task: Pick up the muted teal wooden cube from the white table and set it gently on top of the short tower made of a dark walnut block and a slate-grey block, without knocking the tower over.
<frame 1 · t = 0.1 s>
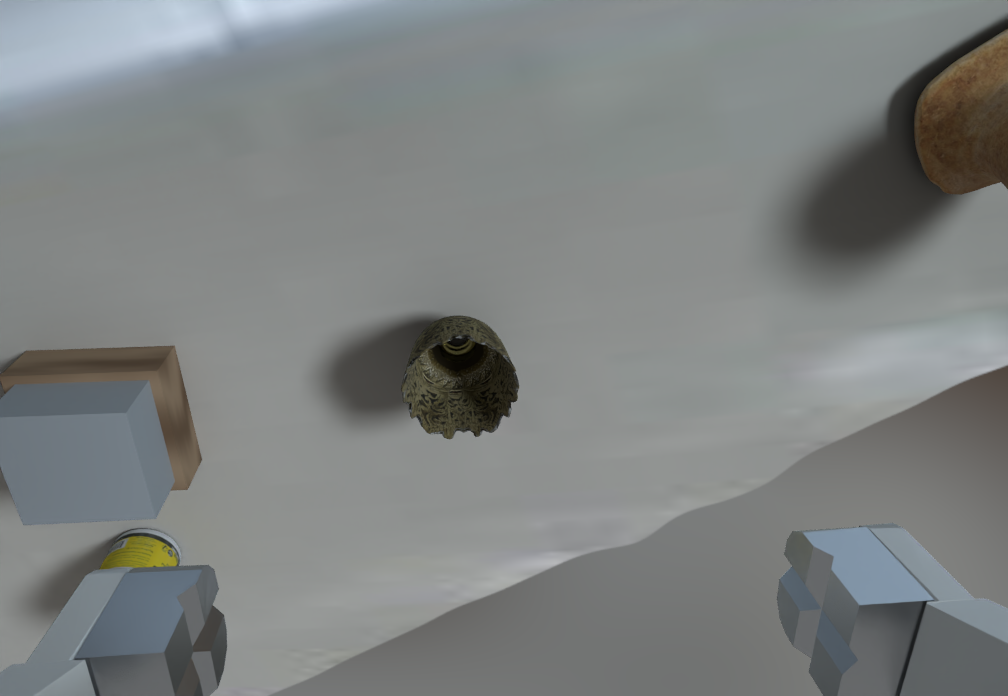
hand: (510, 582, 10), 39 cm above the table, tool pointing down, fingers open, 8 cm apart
cup: (456, 334, 52), on the table
grey top block: (98, 435, 49), point 4 cm above the table
walnut base block: (120, 405, 52), on the table
supplement bottle: (149, 549, 59), on the table
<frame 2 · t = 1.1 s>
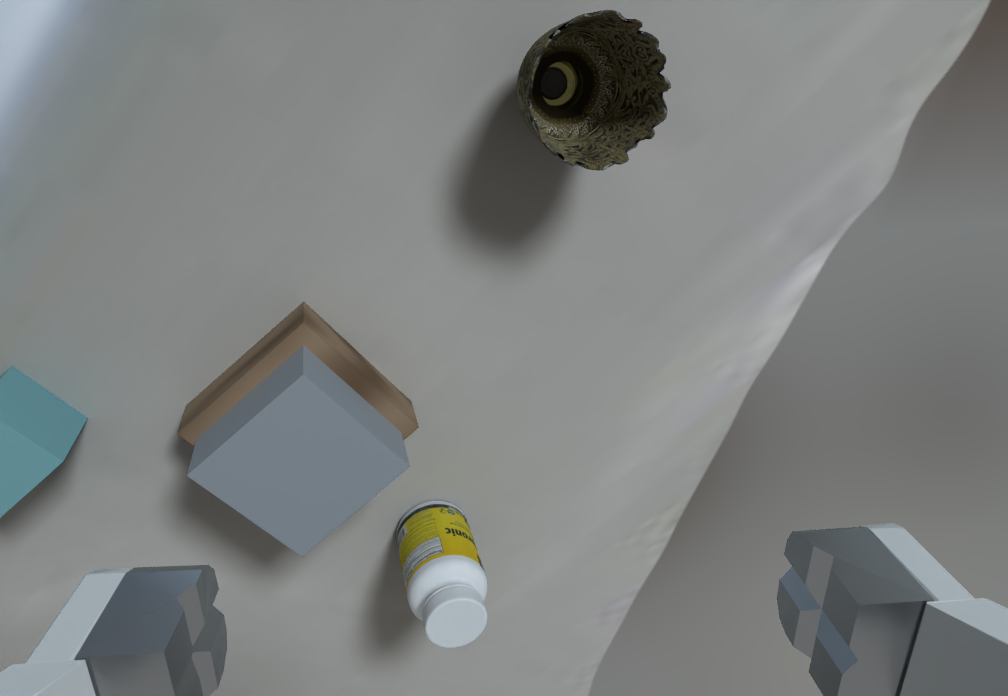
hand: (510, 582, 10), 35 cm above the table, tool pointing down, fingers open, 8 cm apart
teal cube: (21, 418, 42), on the table
cup: (551, 83, 42), on the table
grey top block: (303, 435, 43), point 4 cm above the table, touching walnut base block
walnut base block: (303, 400, 47), on the table, touching grey top block
supplement bottle: (431, 526, 53), on the table
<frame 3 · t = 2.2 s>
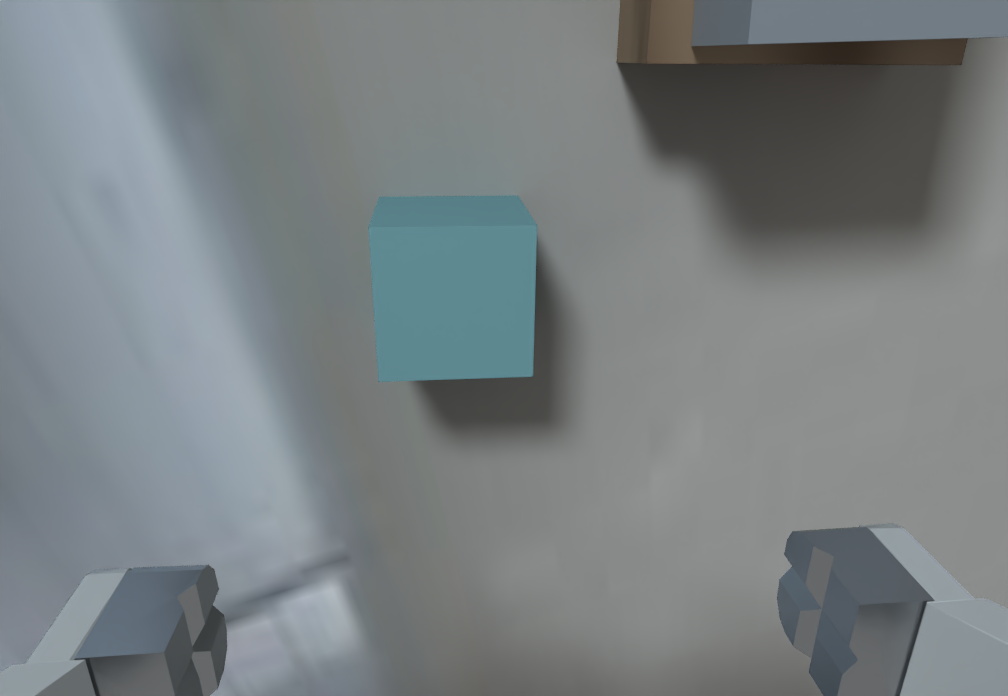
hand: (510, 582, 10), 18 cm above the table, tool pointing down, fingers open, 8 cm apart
teal cube: (450, 262, 26), on the table
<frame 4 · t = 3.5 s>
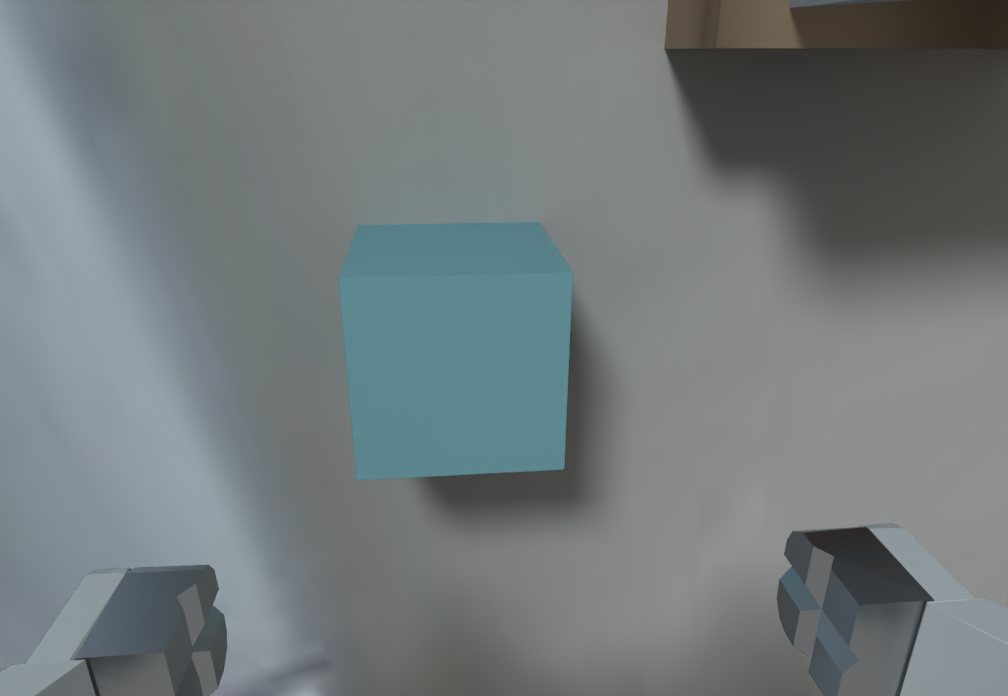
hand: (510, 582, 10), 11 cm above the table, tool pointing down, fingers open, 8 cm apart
teal cube: (451, 307, 21), on the table
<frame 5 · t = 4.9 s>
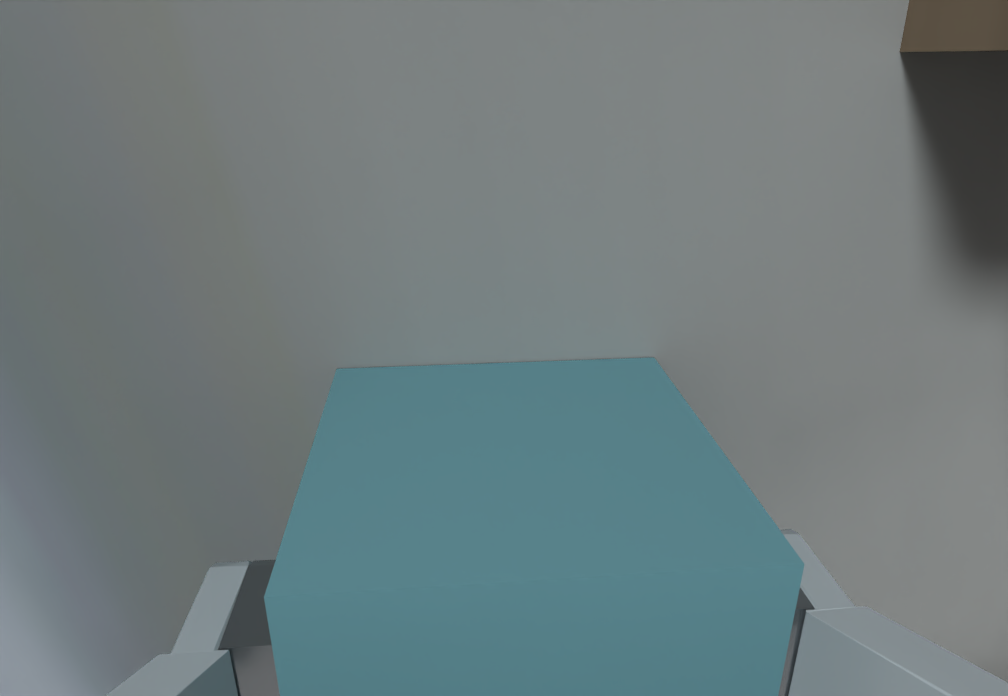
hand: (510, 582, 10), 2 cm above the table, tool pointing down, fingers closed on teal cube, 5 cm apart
teal cube: (498, 497, 12), on the table, touching gripper
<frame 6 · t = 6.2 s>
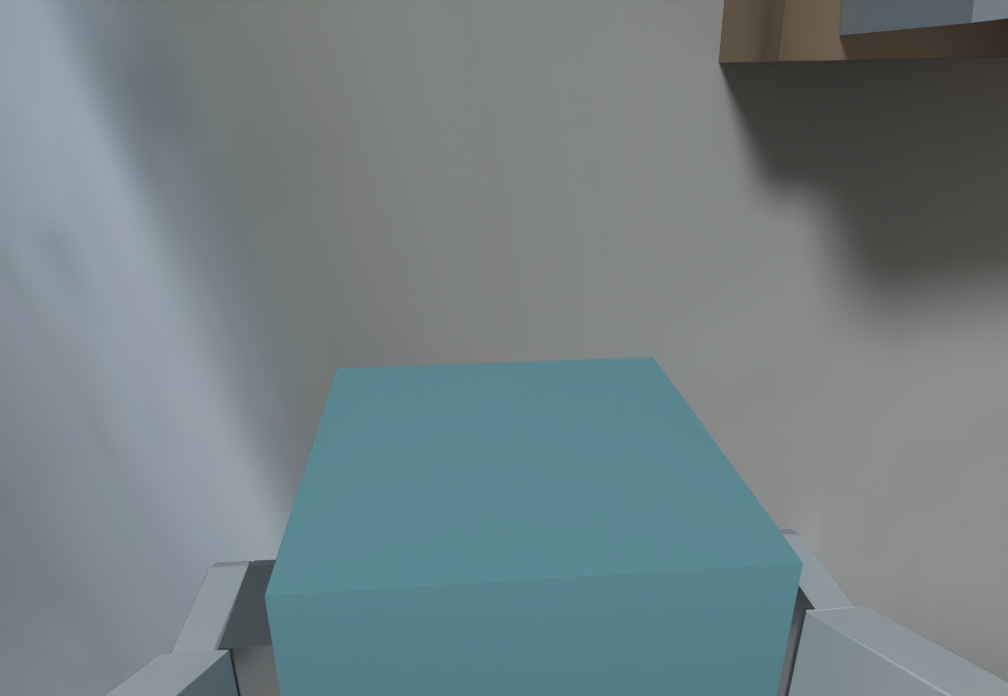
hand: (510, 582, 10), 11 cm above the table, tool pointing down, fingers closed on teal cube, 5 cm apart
teal cube: (498, 496, 12), point 9 cm above the table, touching gripper
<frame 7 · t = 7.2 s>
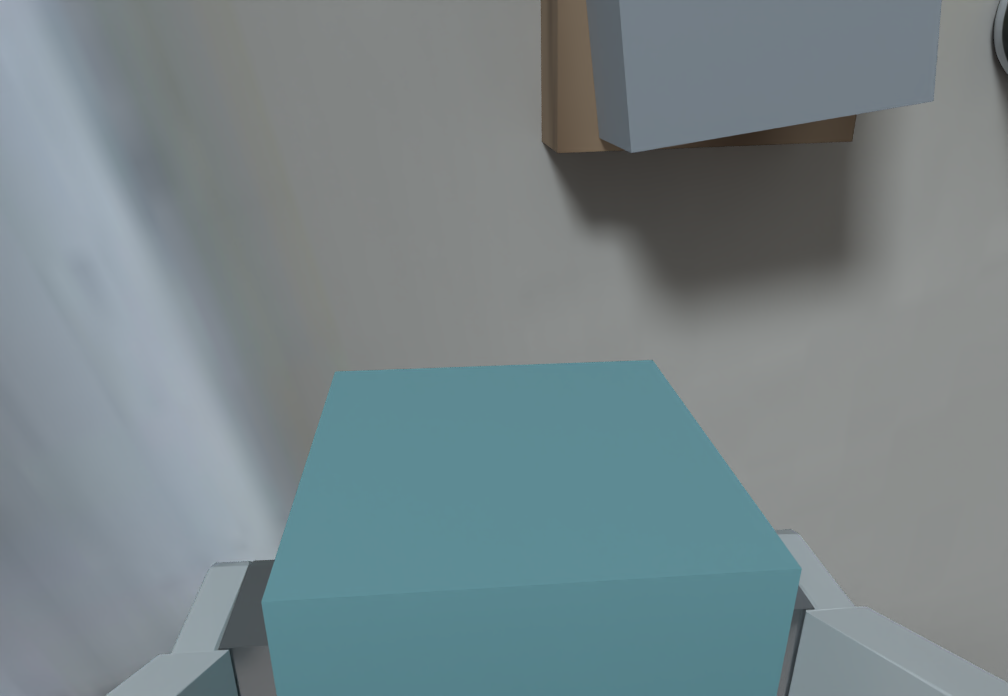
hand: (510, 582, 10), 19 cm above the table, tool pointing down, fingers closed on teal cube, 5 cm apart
teal cube: (497, 499, 12), point 17 cm above the table, touching gripper
when the fingers open (12 cm above the table, at t = 9.7 s): teal cube drops 2 cm, resting on grey top block.
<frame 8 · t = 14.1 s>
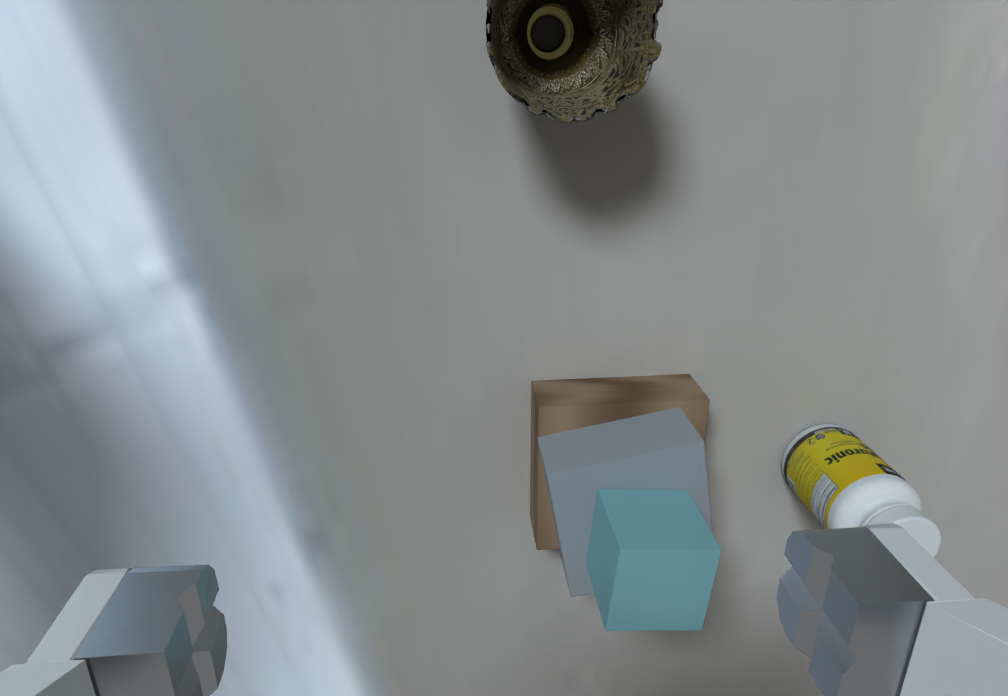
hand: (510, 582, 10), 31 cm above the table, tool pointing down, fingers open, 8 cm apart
teal cube: (635, 527, 39), point 8 cm above the table, touching grey top block
cup: (547, 33, 36), on the table
grey top block: (617, 482, 43), point 4 cm above the table, touching teal cube, walnut base block
walnut base block: (605, 444, 46), on the table, touching grey top block
supplement bottle: (815, 454, 48), on the table
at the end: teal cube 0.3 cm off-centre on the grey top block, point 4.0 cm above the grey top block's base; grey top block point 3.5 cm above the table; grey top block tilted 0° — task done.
